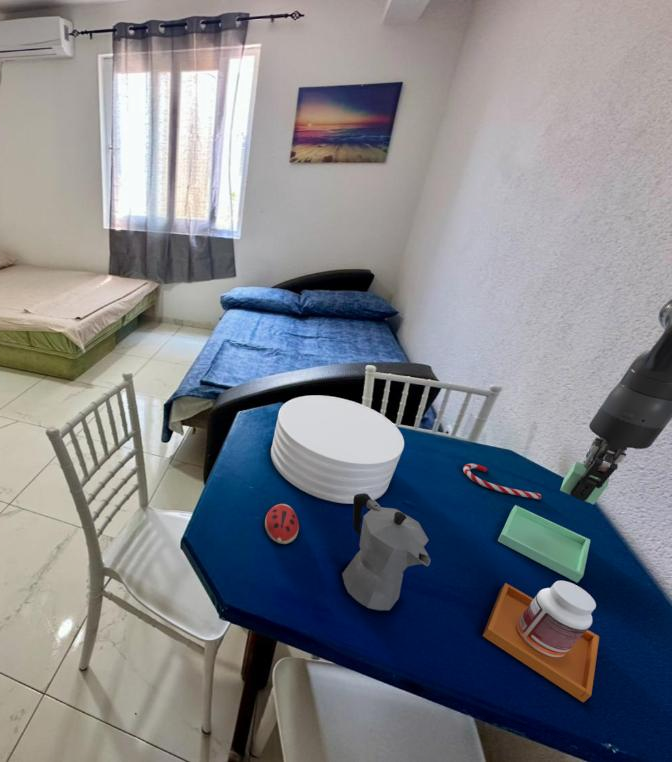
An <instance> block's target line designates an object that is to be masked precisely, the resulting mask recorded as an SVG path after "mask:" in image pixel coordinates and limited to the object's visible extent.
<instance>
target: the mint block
mask: <svg viewBox="0 0 672 762" xmlns="http://www.w3.org/2000/svg"><path fill="white" fill-rule="evenodd" d="M584 470H585V467H584V463H582V462H580V461H578V460H577V461H575V462H574V463H573V465H572V466H571V468H570V469H569V471H568V472H567V474H566V475H565V477H564V478H563V480H562V483H561V487H560V489H559V491H560V492H563V493H565V494H567V495H570V492H571V490H572V489H573V488H574V486H575V485H576V483H577V482H578V480H579V478H580V477H579V476H580V475H582V473H583V472H584ZM590 476H591V475H590ZM591 477H593V478H596V479H598V478H597V477H594V476H591ZM609 482H610V477H609V478H608V479H607V480H606V481H605V483H604V484H603V486H602V487H600V488H599V489H598V488H595V489H594V490H593V492H592V493H591V495H590V496H589V497H588V499H587V500H585V501H584V502H586V503H588V504H591V505H595V503H596V502H597V501H598V500H599V498H600V497H601V496H602V495H603V493H604V492H605V490H606V489H607V487H608V486H609Z"/></svg>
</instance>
